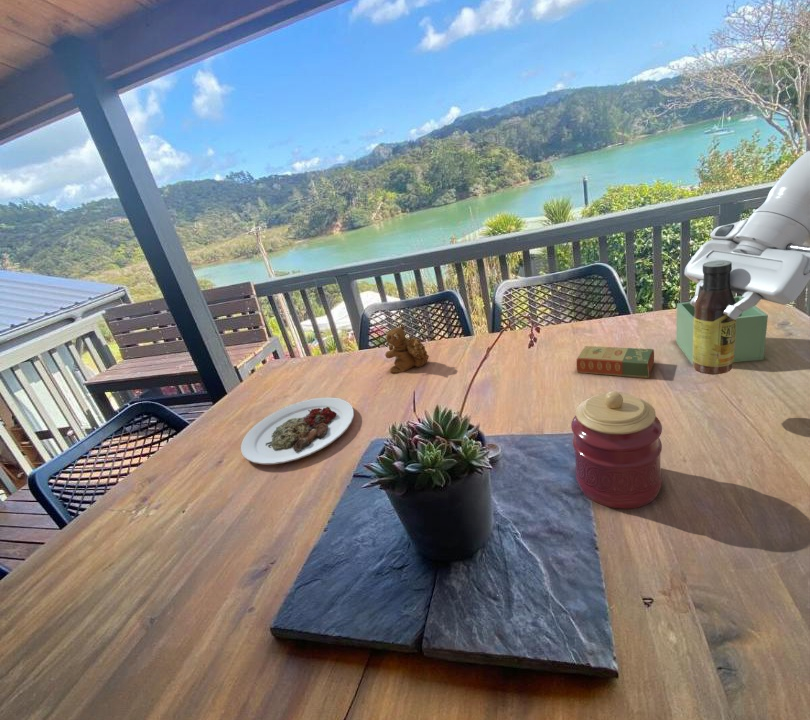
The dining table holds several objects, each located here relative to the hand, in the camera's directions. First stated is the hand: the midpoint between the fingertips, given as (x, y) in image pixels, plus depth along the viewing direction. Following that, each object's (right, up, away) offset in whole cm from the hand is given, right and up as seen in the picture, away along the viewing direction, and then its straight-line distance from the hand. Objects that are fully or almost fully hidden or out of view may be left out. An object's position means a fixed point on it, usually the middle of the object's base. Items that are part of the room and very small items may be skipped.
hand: (710, 311), depth 76 cm
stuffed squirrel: (-52, -11, +61) cm, 81 cm away
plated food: (-81, -28, +38) cm, 94 cm away
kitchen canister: (-18, -30, -3) cm, 35 cm away
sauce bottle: (+3, -10, +4) cm, 12 cm away
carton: (-1, -11, +32) cm, 33 cm away
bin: (+21, -6, +28) cm, 36 cm away
